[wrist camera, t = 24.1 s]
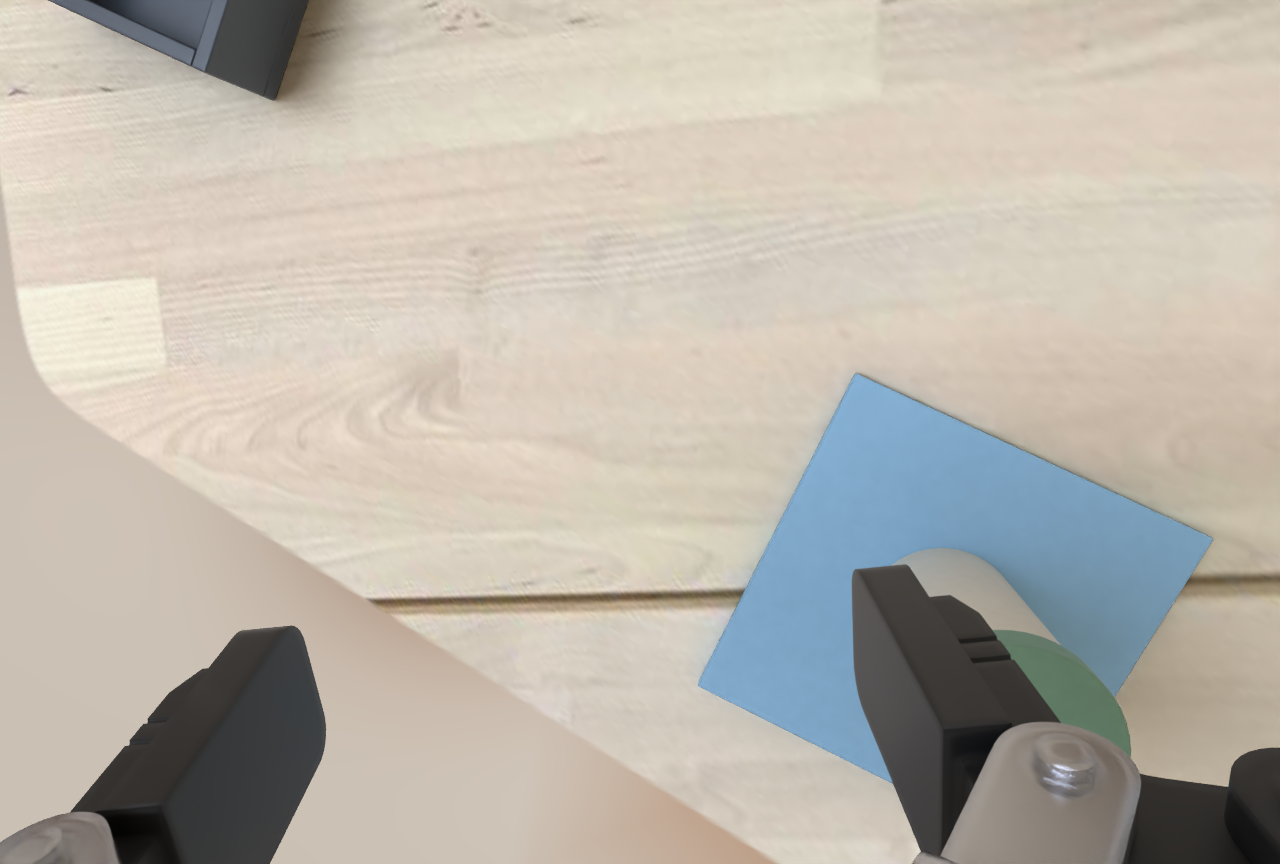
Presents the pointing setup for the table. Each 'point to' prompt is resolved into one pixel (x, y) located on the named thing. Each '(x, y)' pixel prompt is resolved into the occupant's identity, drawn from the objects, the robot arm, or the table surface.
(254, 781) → the robot arm
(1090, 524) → the mat
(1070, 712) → the container
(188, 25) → the divided tray
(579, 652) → the table surface
